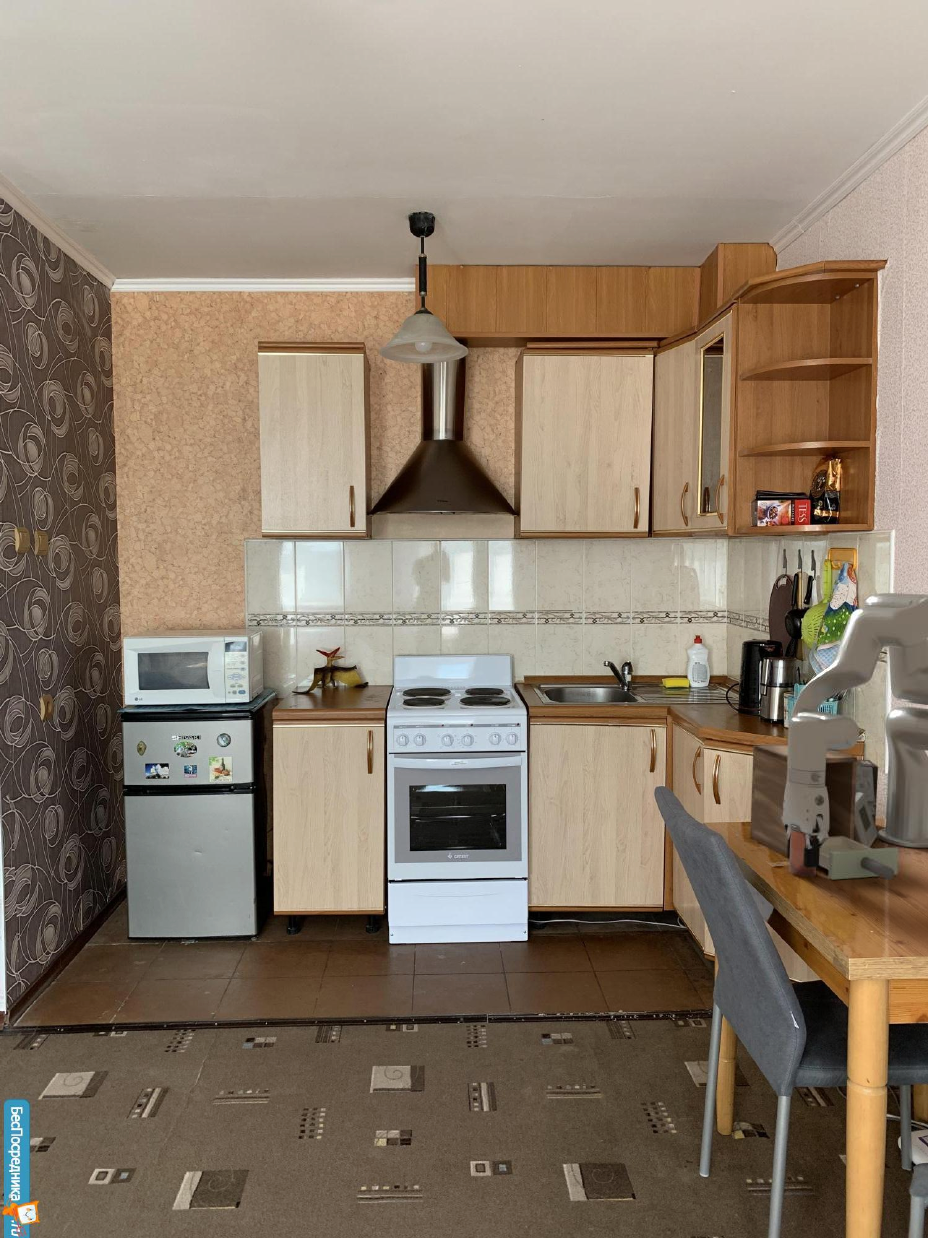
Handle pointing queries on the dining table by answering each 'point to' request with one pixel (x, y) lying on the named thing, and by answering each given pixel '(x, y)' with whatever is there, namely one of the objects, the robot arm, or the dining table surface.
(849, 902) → the dining table surface
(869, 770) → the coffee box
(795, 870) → the tea tin
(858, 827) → the digital clock
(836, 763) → the drawer cabinet
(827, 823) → the robot arm
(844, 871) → the green drawer
